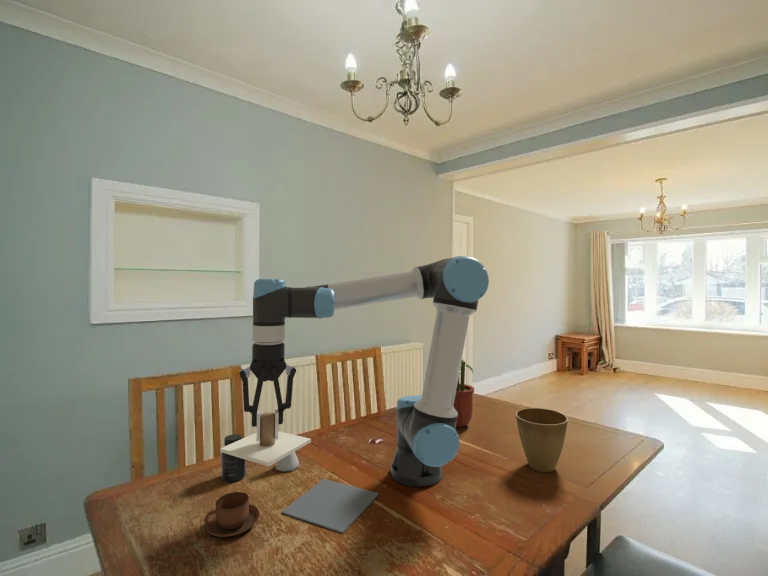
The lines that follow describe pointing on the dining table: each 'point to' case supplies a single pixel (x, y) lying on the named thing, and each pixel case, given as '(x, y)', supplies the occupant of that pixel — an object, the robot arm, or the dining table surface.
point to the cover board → (265, 452)
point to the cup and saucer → (231, 515)
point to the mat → (331, 505)
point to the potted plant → (463, 399)
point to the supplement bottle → (232, 462)
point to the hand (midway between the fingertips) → (267, 438)
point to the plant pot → (542, 436)
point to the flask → (288, 463)
